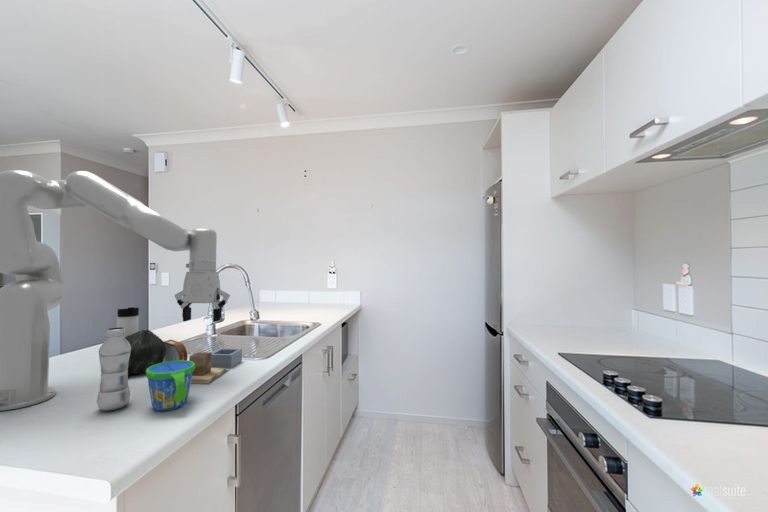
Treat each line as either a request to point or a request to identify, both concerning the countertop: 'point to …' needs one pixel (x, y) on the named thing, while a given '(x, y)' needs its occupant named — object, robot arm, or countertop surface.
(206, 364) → the lid
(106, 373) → the plastic bottle
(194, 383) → the mat
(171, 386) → the snack cup
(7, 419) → the countertop surface
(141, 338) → the squash
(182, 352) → the brown curved piece
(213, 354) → the dish
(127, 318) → the travel mug
